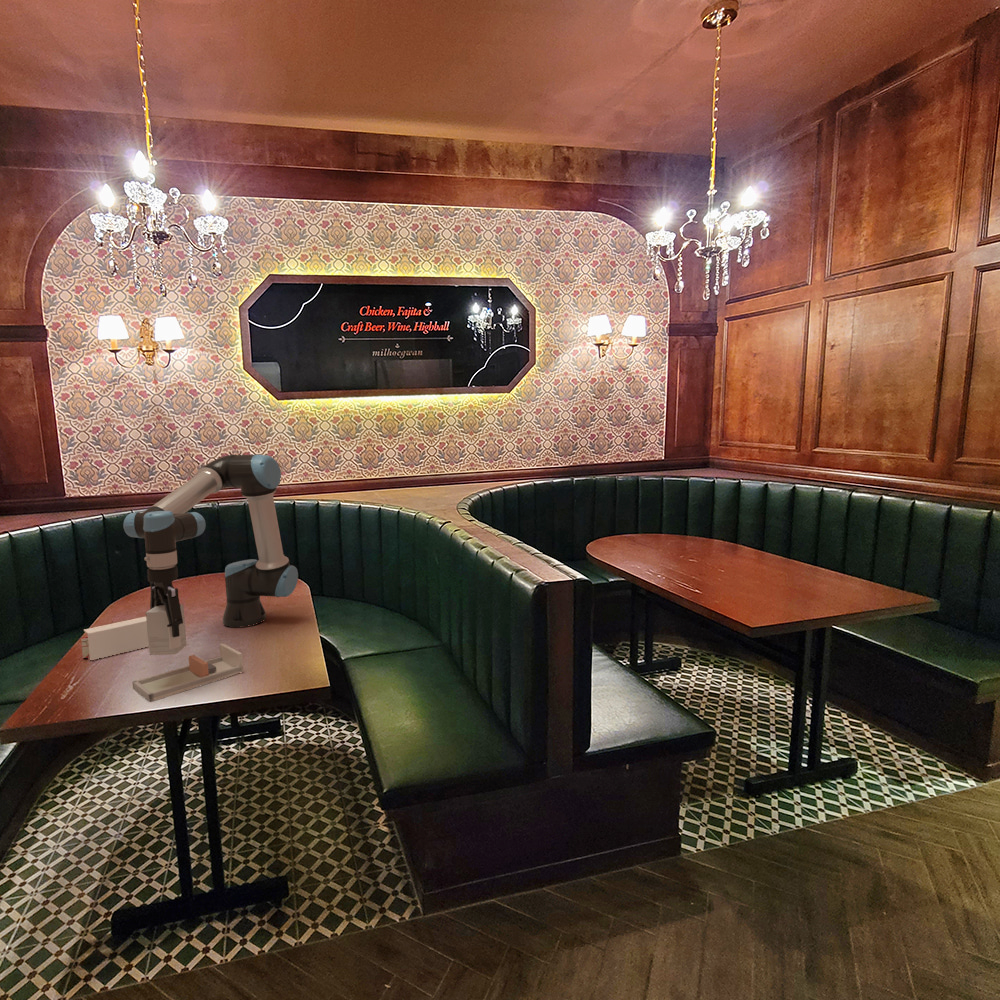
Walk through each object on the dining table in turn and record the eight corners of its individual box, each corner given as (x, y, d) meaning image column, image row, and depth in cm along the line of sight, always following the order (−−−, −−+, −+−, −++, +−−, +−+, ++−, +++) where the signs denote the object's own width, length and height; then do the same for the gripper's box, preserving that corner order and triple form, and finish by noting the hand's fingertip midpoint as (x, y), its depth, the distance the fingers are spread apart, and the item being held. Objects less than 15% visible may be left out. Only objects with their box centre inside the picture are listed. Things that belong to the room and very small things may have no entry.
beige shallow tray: (223, 661, 194) (222, 643, 194) (243, 672, 186) (242, 653, 185) (132, 688, 175) (131, 668, 175) (149, 701, 167) (147, 680, 166)
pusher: (206, 665, 189) (205, 651, 188) (220, 673, 182) (219, 659, 182) (189, 670, 185) (188, 656, 185) (203, 679, 179) (202, 664, 178)
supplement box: (187, 645, 179) (184, 603, 178) (175, 655, 172) (172, 611, 170) (161, 646, 179) (158, 603, 177) (148, 655, 172) (144, 611, 170)
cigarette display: (149, 642, 212) (147, 616, 211) (155, 646, 209) (153, 619, 207) (81, 658, 198) (78, 630, 197) (86, 663, 194) (83, 634, 193)
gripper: (133, 562, 177) (139, 637, 180) (163, 575, 162) (169, 656, 165) (161, 558, 183) (166, 630, 185) (192, 570, 168) (198, 648, 170)
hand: (168, 643), depth 175 cm, fingers closed on supplement box, 10 cm apart
